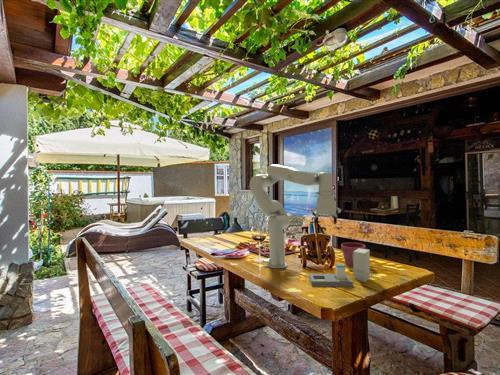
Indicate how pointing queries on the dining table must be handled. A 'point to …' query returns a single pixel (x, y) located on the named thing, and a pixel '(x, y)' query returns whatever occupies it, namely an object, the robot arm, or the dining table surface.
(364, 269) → the skincare box
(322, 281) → the socket panel
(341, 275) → the plug
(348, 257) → the plant pot
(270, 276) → the dining table surface
